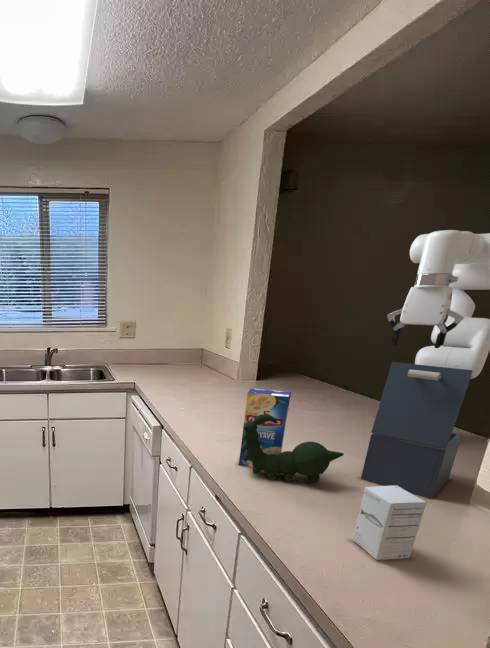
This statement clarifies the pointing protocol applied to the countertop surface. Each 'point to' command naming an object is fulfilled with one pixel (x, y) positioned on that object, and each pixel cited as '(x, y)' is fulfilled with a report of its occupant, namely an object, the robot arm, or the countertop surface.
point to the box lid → (421, 403)
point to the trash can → (409, 464)
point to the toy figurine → (285, 455)
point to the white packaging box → (388, 522)
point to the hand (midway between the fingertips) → (416, 346)
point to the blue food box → (268, 431)
